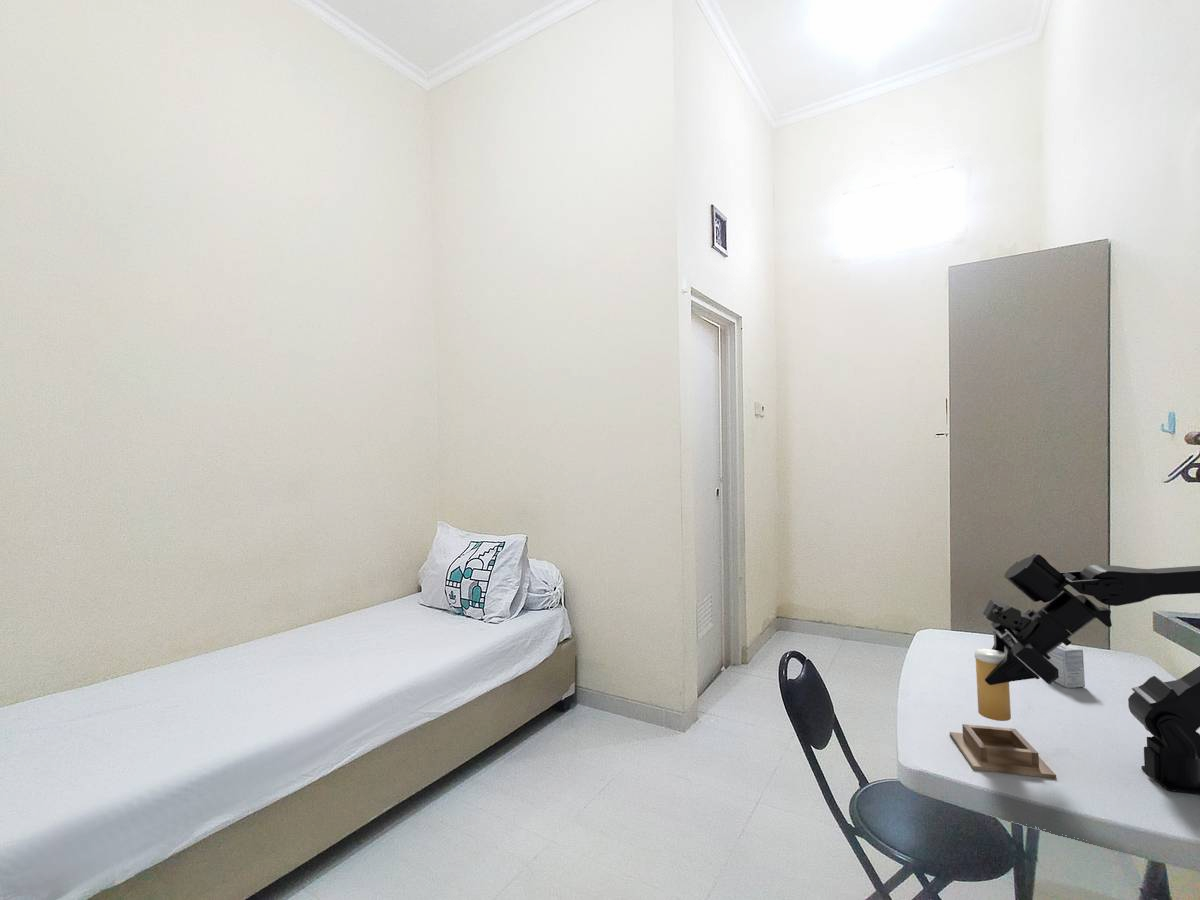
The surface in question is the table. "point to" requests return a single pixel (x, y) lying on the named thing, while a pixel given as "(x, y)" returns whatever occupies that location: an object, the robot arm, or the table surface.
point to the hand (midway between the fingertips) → (983, 677)
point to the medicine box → (1068, 665)
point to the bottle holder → (1000, 751)
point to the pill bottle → (991, 687)
